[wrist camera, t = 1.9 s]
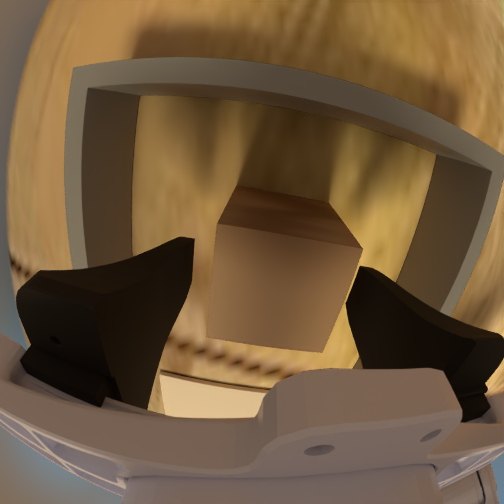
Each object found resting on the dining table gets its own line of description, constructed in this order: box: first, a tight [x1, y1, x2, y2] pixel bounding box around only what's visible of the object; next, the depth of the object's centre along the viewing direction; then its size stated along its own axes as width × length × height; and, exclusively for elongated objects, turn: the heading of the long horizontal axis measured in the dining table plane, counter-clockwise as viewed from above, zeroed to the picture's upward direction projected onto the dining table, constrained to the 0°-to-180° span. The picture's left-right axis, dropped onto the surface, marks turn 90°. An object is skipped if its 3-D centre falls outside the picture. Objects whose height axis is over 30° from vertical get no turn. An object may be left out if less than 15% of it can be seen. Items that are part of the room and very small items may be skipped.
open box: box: [64, 57, 504, 369], centre depth 14 cm, size 19×20×5 cm
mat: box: [159, 371, 270, 418], centre depth 24 cm, size 14×16×1 cm
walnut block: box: [206, 186, 363, 353], centre depth 13 cm, size 5×5×6 cm
